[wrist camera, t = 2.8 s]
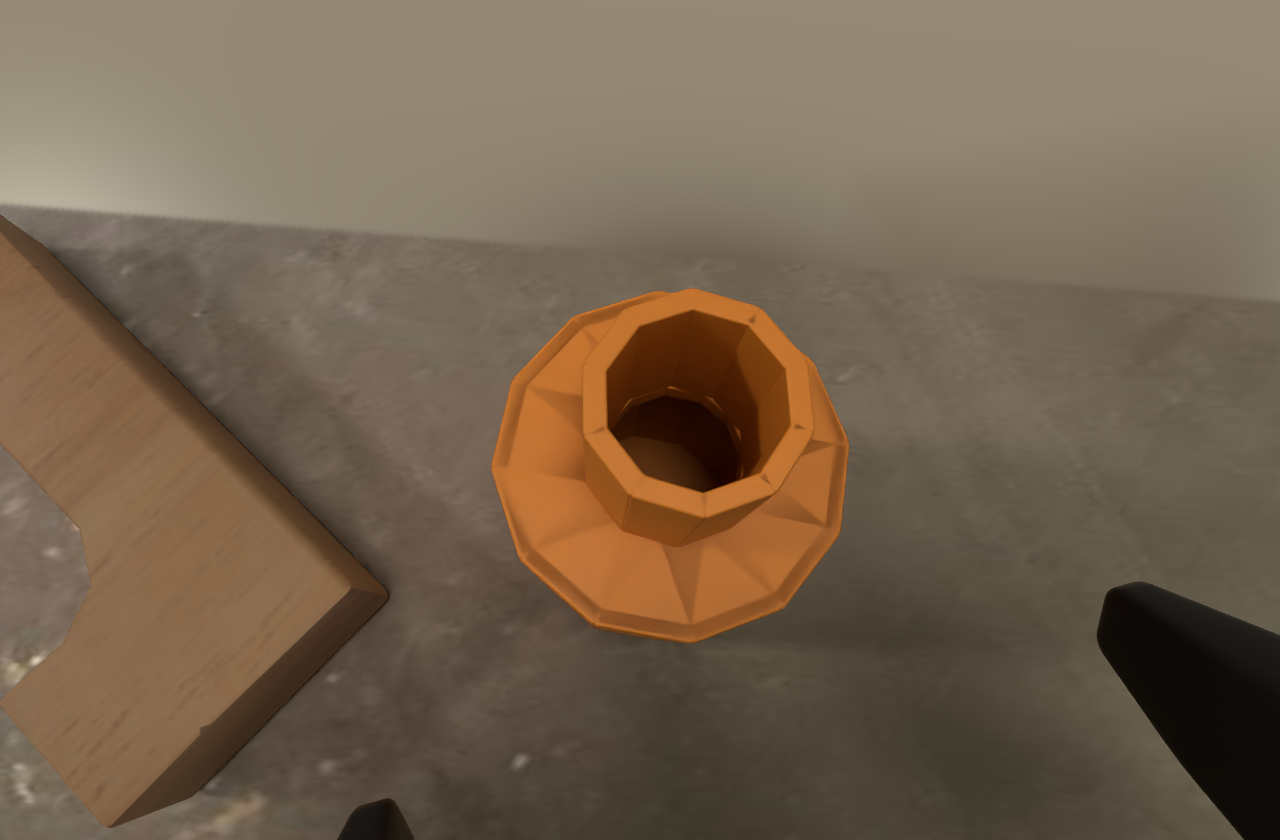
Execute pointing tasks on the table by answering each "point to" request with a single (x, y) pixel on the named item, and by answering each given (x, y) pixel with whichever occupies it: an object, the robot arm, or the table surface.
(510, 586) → the table surface
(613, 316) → the bottle
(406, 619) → the table surface
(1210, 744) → the robot arm
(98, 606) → the wooden block
